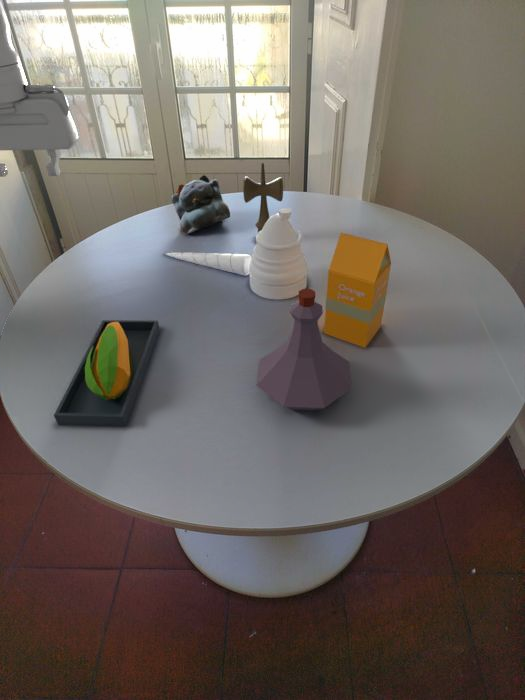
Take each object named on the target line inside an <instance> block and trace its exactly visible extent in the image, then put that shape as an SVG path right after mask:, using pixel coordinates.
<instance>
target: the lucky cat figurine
mask: <svg viewBox="0 0 525 700" xmlns="http://www.w3.org/2000/svg"><path fill="white" fill-rule="evenodd" d="M170 200H171V203H172V204H173V207H174V210H175V212H176V214H177V216H178V219H179V226H180V230H181V231H182V232H183V233H185V234H186V235H190V234H192V233H194V232H196V231H199V230H201V229H204V228H206V227H209V226H212V225H214V224H216V223H219V222H221V221H222V222H223V221H224V220H227V219H229V218H231V211H230V208H229V205H228V204H226V203H225V201H224V200H223V195H222V193H221V188H220V184H219V181H218V180H217V179H212V180H210V179H209V178H208V176H207V175H205V174H204V175H203V174H202V176H200V177H199V179H193V180H191V181H189V182H187V183H186V184H183V183H182V184H179V185H178V187H177V191H176V192H175V193H173V194H172V196H170Z"/></svg>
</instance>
